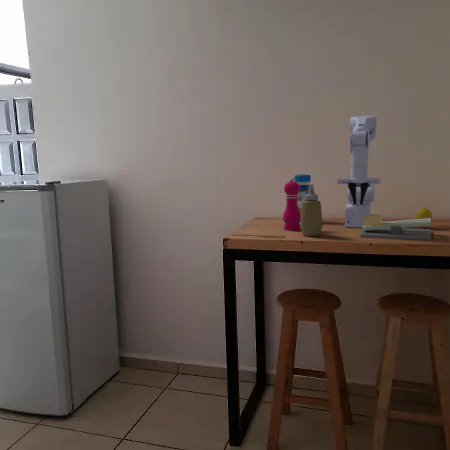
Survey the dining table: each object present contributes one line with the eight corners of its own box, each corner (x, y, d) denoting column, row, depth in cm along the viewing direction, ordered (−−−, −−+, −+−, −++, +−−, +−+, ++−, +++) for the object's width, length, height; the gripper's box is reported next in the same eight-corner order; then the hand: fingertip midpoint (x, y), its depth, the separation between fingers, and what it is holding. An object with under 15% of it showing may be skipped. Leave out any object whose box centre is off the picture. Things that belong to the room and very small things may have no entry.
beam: (362, 233, 160) (361, 227, 160) (365, 229, 168) (364, 223, 168) (431, 228, 151) (430, 221, 151) (431, 224, 159) (430, 218, 159)
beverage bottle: (316, 222, 194) (316, 174, 191) (297, 223, 192) (297, 175, 189) (307, 219, 202) (307, 174, 199) (289, 220, 200) (289, 174, 197)
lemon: (433, 229, 168) (434, 207, 167) (417, 229, 169) (417, 208, 168) (429, 227, 173) (430, 206, 172) (414, 227, 174) (414, 206, 173)
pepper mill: (303, 228, 179) (303, 176, 176) (298, 231, 173) (298, 177, 170) (285, 227, 182) (285, 177, 179) (280, 230, 176) (279, 178, 173)
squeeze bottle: (321, 237, 158) (321, 185, 156) (297, 236, 161) (297, 185, 159) (324, 233, 166) (324, 183, 163) (302, 232, 169) (302, 183, 166)
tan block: (364, 228, 161) (362, 216, 161) (365, 226, 166) (364, 214, 166) (381, 227, 159) (380, 214, 159) (383, 225, 164) (381, 213, 163)
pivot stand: (360, 237, 157) (360, 226, 156) (366, 229, 171) (366, 220, 171) (431, 240, 148) (431, 229, 148) (430, 232, 163) (430, 222, 162)
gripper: (335, 166, 161) (335, 205, 163) (379, 165, 155) (378, 205, 157) (339, 166, 167) (338, 203, 169) (381, 165, 161) (380, 203, 163)
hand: (358, 204), depth 163 cm, fingers closed
